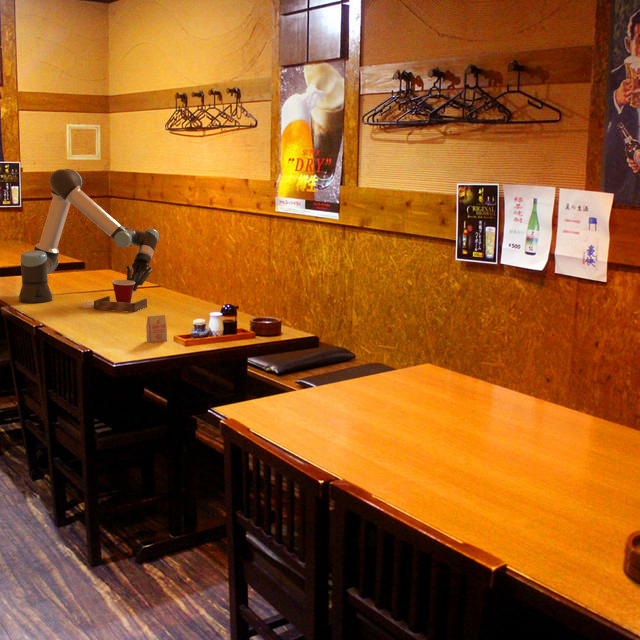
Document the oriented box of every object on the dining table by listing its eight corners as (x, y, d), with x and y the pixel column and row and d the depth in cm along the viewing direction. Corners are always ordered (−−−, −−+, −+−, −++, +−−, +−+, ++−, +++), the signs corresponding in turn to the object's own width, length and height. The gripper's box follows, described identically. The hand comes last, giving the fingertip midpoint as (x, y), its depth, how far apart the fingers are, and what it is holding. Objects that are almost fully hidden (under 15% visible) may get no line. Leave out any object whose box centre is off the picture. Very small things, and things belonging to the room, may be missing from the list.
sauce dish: (78, 308, 352) (77, 304, 351) (86, 305, 359) (86, 301, 359) (93, 309, 350) (93, 305, 350) (102, 306, 358) (102, 302, 357)
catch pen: (94, 309, 349) (93, 300, 348) (108, 304, 361) (107, 296, 360) (134, 312, 344) (134, 303, 344) (147, 307, 357) (146, 298, 356)
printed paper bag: (146, 341, 292) (146, 315, 289) (163, 339, 295) (163, 314, 293) (149, 343, 288) (149, 317, 286) (166, 341, 292) (166, 315, 290)
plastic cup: (125, 309, 350) (124, 283, 348) (107, 307, 355) (106, 281, 352) (140, 305, 360) (140, 280, 357) (122, 303, 364) (122, 278, 362)
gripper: (158, 262, 374) (144, 301, 361) (134, 260, 376) (119, 299, 364) (153, 252, 367) (139, 292, 355) (128, 251, 370) (114, 290, 358)
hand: (129, 296), depth 359 cm, fingers closed
